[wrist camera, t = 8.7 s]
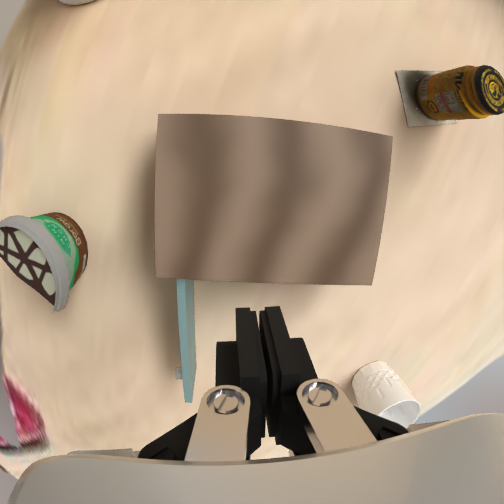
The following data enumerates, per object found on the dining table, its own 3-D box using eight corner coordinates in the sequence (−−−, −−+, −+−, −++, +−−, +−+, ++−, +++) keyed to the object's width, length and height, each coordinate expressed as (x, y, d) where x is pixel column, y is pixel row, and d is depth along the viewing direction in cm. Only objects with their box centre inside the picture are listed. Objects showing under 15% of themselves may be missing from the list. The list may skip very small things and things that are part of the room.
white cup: (346, 400, 45) (365, 445, 35) (349, 363, 43) (372, 409, 33) (390, 388, 45) (414, 429, 36) (396, 352, 43) (426, 392, 33)
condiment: (455, 123, 33) (518, 122, 21) (407, 127, 33) (470, 123, 22) (444, 71, 31) (504, 57, 19) (394, 71, 31) (452, 48, 19)
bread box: (172, 248, 36) (155, 277, 27) (176, 124, 32) (158, 114, 23) (342, 255, 37) (371, 285, 29) (355, 139, 33) (392, 136, 25)
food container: (114, 242, 35) (79, 272, 25) (92, 279, 36) (56, 316, 27) (44, 183, 32) (-5, 195, 23) (25, 222, 33) (-21, 243, 24)
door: (175, 251, 35) (163, 274, 28) (193, 251, 35) (184, 274, 28) (181, 366, 40) (174, 401, 33) (196, 366, 40) (191, 402, 33)
